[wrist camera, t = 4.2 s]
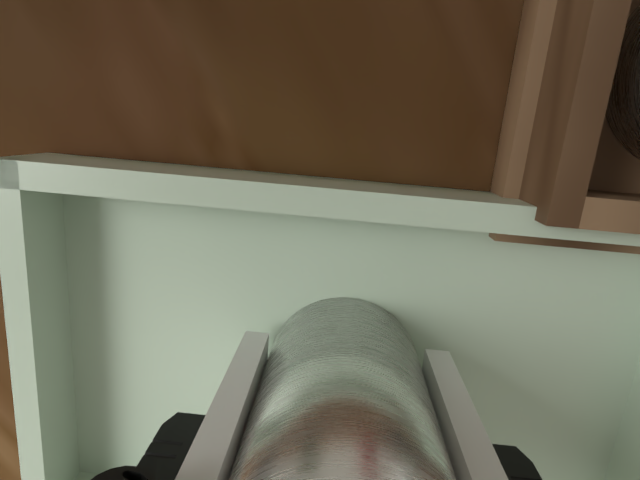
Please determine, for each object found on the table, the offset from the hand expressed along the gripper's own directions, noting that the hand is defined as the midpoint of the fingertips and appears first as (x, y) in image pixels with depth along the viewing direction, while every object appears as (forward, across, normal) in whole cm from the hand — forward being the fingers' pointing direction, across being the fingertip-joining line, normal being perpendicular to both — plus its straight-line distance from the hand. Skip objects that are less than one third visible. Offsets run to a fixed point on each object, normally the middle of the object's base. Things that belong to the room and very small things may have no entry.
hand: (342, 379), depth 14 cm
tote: (+1, 0, 0) cm, 1 cm away
